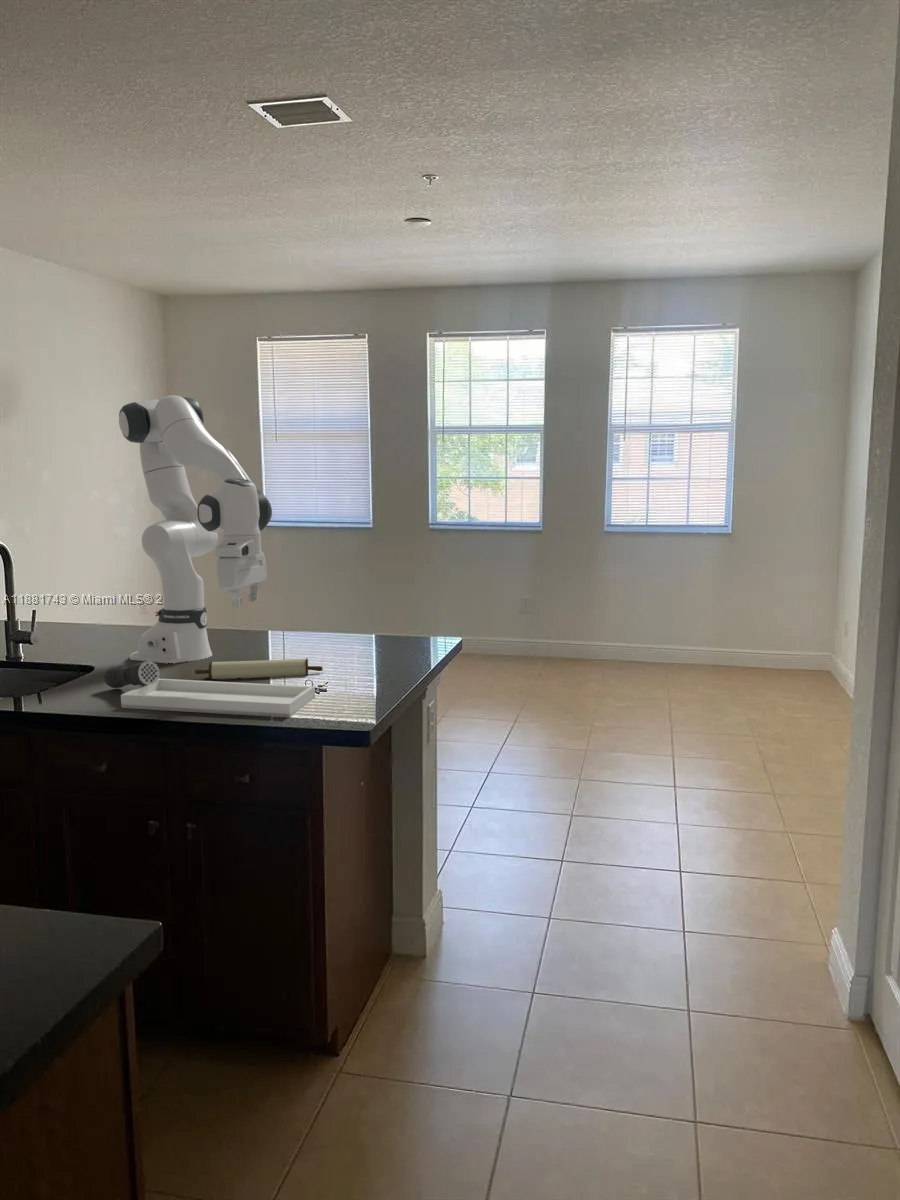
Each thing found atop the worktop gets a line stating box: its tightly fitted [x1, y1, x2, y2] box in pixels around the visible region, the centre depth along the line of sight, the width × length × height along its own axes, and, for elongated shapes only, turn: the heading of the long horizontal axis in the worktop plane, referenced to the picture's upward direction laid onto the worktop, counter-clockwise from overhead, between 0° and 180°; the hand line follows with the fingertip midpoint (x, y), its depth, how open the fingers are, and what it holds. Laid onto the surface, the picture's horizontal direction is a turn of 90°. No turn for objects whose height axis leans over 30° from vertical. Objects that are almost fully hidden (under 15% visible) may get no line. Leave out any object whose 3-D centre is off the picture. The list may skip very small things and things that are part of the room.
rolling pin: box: [194, 658, 324, 681], centre depth 224 cm, size 32×6×5 cm, turn 100°
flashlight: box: [104, 661, 160, 689], centre depth 208 cm, size 15×5×5 cm
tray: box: [120, 678, 316, 718], centre depth 200 cm, size 40×16×3 cm, turn 79°
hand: (245, 603), depth 211 cm, fingers open, 8 cm apart
